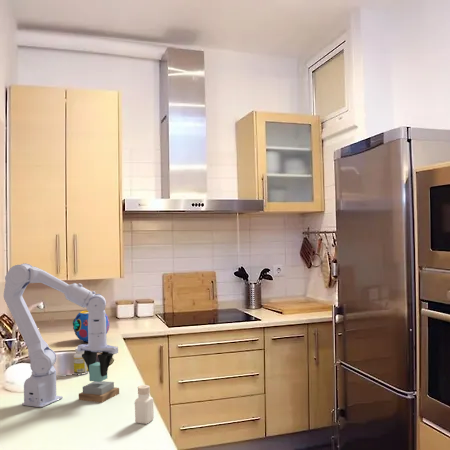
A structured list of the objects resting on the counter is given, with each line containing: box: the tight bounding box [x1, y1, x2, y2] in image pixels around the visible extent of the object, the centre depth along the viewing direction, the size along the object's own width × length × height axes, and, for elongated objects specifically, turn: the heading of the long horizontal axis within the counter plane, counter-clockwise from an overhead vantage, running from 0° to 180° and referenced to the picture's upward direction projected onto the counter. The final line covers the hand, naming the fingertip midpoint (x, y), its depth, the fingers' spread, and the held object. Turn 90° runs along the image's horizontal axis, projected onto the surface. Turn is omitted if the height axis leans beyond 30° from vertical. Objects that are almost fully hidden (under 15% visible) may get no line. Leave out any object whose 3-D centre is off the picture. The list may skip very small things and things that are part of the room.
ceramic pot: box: [72, 310, 110, 343], centre depth 246 cm, size 18×18×15 cm
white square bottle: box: [134, 384, 155, 425], centre depth 134 cm, size 4×4×10 cm
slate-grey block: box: [82, 380, 115, 395], centre depth 157 cm, size 7×7×2 cm
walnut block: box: [78, 386, 120, 403], centre depth 156 cm, size 9×9×2 cm
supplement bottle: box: [73, 346, 89, 376], centre depth 185 cm, size 5×5×10 cm
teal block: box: [88, 361, 108, 382], centre depth 157 cm, size 4×4×5 cm
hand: (98, 374), depth 157 cm, fingers closed on teal block, 4 cm apart
